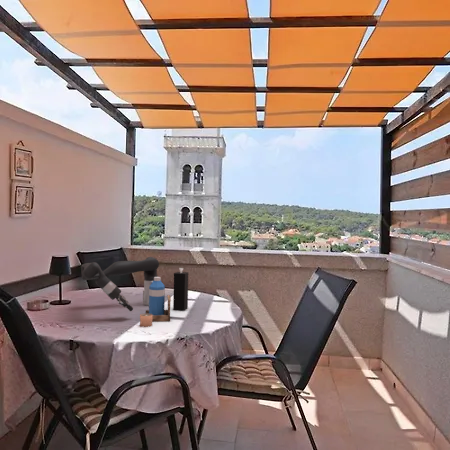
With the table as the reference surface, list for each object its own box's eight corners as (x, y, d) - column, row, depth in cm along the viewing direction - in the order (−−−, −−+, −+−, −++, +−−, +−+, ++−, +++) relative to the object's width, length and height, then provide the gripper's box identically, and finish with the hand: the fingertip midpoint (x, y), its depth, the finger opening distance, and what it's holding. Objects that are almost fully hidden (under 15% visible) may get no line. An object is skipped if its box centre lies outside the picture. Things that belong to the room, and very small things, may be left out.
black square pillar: (184, 311, 282) (185, 268, 281) (172, 310, 283) (173, 268, 282) (187, 308, 289) (188, 267, 288) (176, 307, 291) (177, 266, 290)
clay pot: (137, 325, 243) (137, 315, 243) (145, 323, 249) (145, 312, 249) (146, 327, 239) (146, 316, 239) (154, 324, 245) (154, 314, 245)
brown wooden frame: (145, 321, 252) (145, 300, 251) (145, 315, 266) (146, 295, 266) (170, 321, 254) (170, 299, 254) (169, 315, 269) (169, 295, 268)
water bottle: (164, 319, 258) (165, 278, 257) (148, 319, 256) (149, 278, 256) (163, 315, 267) (164, 276, 266) (148, 316, 265) (149, 276, 265)
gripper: (108, 292, 261) (128, 312, 264) (105, 296, 248) (126, 317, 251) (117, 283, 262) (137, 303, 264) (115, 287, 249) (136, 308, 251)
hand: (132, 310), depth 257 cm, fingers closed
